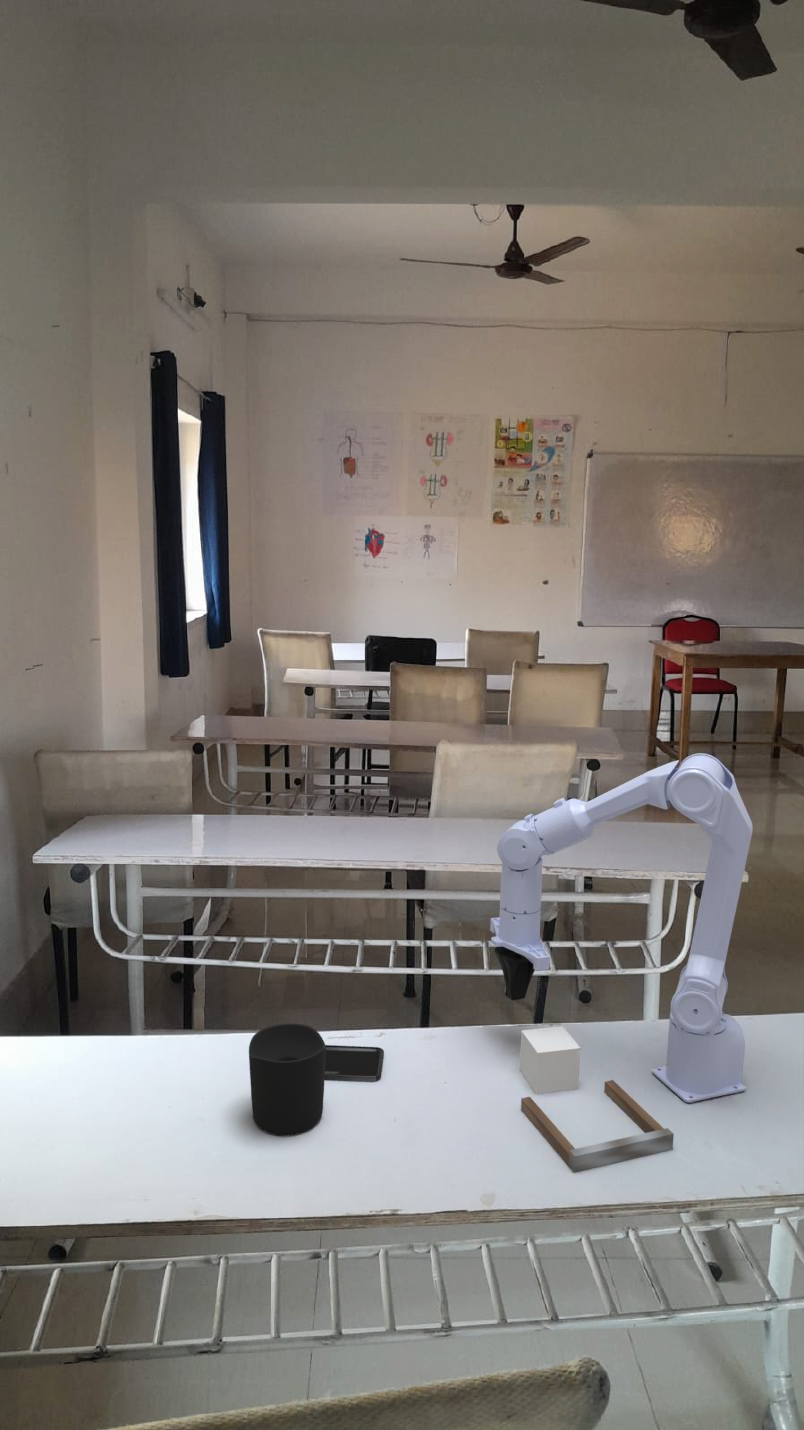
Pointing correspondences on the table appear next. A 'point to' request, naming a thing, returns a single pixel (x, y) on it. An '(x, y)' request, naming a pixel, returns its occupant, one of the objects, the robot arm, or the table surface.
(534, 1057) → the white cube
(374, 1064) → the phone
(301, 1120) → the pen holder
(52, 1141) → the table surface
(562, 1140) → the u-shaped frame
